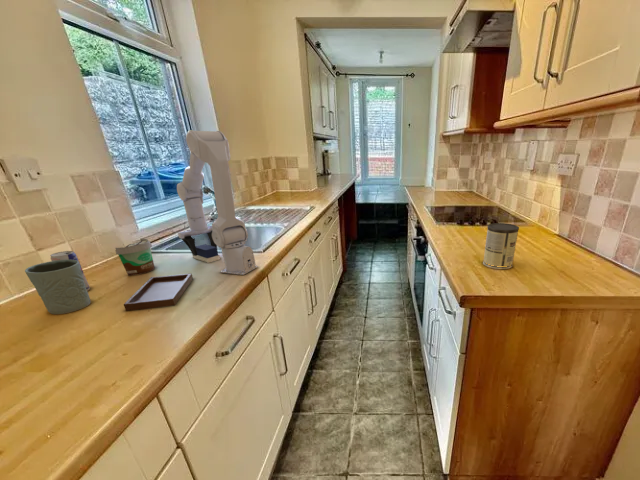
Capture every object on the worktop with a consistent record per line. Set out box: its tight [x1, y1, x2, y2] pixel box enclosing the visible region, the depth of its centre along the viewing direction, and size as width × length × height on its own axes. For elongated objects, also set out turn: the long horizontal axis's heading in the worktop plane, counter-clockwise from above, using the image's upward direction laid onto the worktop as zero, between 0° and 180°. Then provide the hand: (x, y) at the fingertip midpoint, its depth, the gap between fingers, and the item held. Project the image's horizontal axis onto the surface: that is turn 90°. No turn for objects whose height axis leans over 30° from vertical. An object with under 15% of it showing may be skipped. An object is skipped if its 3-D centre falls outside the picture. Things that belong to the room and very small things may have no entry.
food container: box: [115, 237, 156, 276], centre depth 110 cm, size 12×6×10 cm, turn 179°
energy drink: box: [50, 250, 91, 292], centre depth 93 cm, size 5×5×12 cm
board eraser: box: [191, 243, 221, 264], centre depth 122 cm, size 11×5×5 cm, turn 56°
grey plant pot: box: [24, 260, 92, 315], centre depth 84 cm, size 10×10×12 cm
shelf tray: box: [123, 272, 194, 312], centre depth 94 cm, size 12×20×2 cm, turn 16°
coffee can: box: [482, 222, 520, 270], centre depth 112 cm, size 10×10×14 cm
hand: (205, 252), depth 122 cm, fingers open, 7 cm apart
